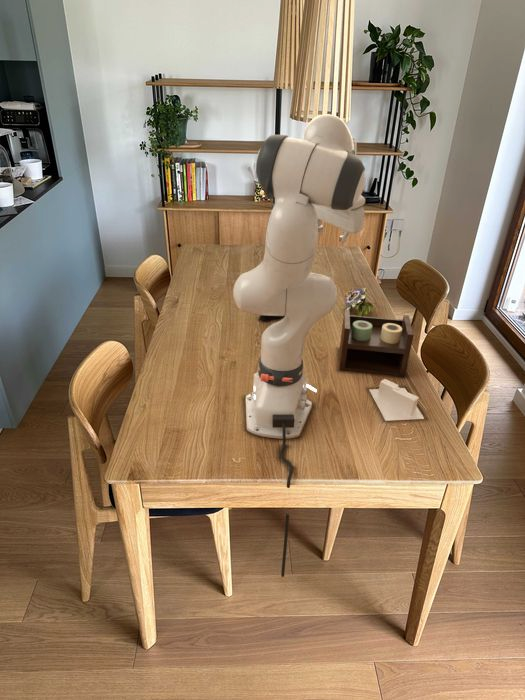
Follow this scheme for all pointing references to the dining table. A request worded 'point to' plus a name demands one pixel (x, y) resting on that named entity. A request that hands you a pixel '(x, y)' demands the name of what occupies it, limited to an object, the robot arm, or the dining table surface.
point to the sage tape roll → (361, 330)
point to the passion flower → (358, 301)
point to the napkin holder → (396, 402)
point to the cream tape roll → (391, 333)
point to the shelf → (375, 348)
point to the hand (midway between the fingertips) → (330, 236)
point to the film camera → (269, 317)
